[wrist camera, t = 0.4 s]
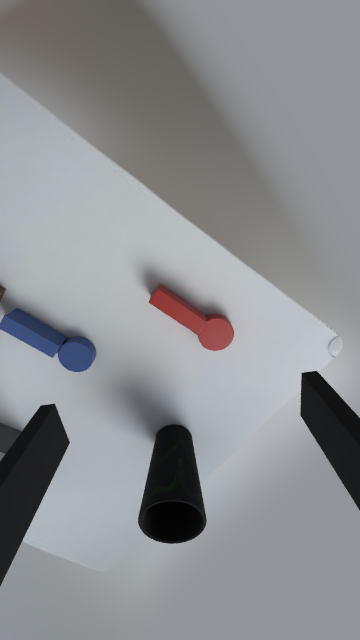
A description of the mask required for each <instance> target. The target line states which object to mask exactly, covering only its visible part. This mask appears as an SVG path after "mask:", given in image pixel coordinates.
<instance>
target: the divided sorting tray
mask: <svg viewBox="0 0 360 640" xmlns="http://www.w3.org/2000/svg"><path fill="white" fill-rule="evenodd" d="M5 291H6V289H5V288H3V287H1V286H0V301H1V299H2V297H3V295H4V293H5Z"/></svg>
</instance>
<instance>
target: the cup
mask: <svg viewBox="0 0 360 640" xmlns="http://www.w3.org/2000/svg"><path fill="white" fill-rule="evenodd" d="M138 523H139V526H140V529H141V530H142V531H143V533H144V534H145V535H147V536H148V537H149V538H151V539H153V540H155V541H159V542H163V543H170V544H172V543H182V542H186V541H189V540H192V539H194V538H195V537H197V536H198V535H199V534H200V533H201V532H202V531H203V530H204V528H205V526H206V514H205V509H204V504H203V498H202V492H201V486H200V481H199V475H198V469H197V464H196V458H195V453H194V447H193V441H192V436H191V433H190V432H189V431H188V429H186V428H185V427H183V426H180V425H168V426H165V427H163V428H162V429H160V430H159V432H158V433H157V435H156V440H155V444H154V449H153V453H152V458H151V462H150V467H149V472H148V476H147V481H146V485H145V490H144V494H143V499H142V504H141V508H140V513H139V517H138Z"/></svg>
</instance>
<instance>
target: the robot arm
mask: <svg viewBox="0 0 360 640" xmlns="http://www.w3.org/2000/svg"><path fill="white" fill-rule="evenodd" d="M301 417H302V418H303V420H304V421H305V423H306V425H307V427H308V428H309V430H310V431H311V433H312V435H313V436H314V438H315V439H316V441H317V443H318V444H319V445H320V447H321V449H322V450H323V452H324V454H325V455H326V457H327V459H328V460H329V462H330V463H331V465H332V466H333V468H334V470H335V471H336V473H337V475H338V476H339V478H340V479H341V481H342V483H343V484H344V486H345V487H346V489H347V491H348V492H349V494H350V495H351V497H352V498H353V500H354V502H355V503H356V505H357V507H358V508H359V510H360V418H359V417H358V416H357V415H356V413H355V412H354V411H353V410H352V409H351V408H350V407H349V406H348V405H347V404H346V403H345V402H344V400H343V399H342V398H341V397H340V396H339V395H338V394H337V393H336V392H335V390H334V389H333V388H332V387H331V386H330V385H329V384H328V383H327V382H326V381H325V379H324V378H323V377H322V376H321V375H320V374H319V373H318V372H317V371H313V372H305V373H302V380H301ZM69 443H70V442H69V439H68V437H67V434H66V432H65V429H64V426H63V424H62V421H61V419H60V416H59V414H58V411H57V408H56V406H55V404H49V405H41V406H40V408H39V409H38V410H37V412H36V413H35V414H34V416H33V417H32V418H31V420H30V421H29V423H28V424H27V425H26V427H25V428H24V429H23V431H22V432H21V433H20V435H19V436H18V437H17V439H16V440H15V442H14V443H13V444H12V446H11V447H10V448H9V450H8V451H7V452H6V454H5V455H4V457H3V458H2V459H1V461H0V586H1V584H2V581H3V579H4V577H5V575H6V573H7V571H8V569H9V567H10V565H11V563H12V561H13V559H14V557H15V555H16V553H17V550H18V548H19V546H20V544H21V542H22V540H23V538H24V536H25V534H26V532H27V530H28V528H29V526H30V524H31V522H32V520H33V518H34V515H35V513H36V511H37V509H38V507H39V505H40V503H41V501H42V499H43V497H44V495H45V493H46V491H47V489H48V487H49V485H50V482H51V480H52V478H53V476H54V474H55V472H56V470H57V468H58V466H59V464H60V462H61V460H62V458H63V456H64V454H65V451H66V449H67V447H68V445H69Z"/></svg>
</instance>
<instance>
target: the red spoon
mask: <svg viewBox="0 0 360 640" xmlns="http://www.w3.org/2000/svg"><path fill="white" fill-rule="evenodd" d="M149 303H150V304H152V305H153V306H155V307H156V308H158V309H159V310H161V311H162V312H164V313H166V314H167V315H169V316H170V317H172V318H173V319H175V320H176V321H178V322H179V323H181V324H182V325H184V326H185V327H187V328H188V329H190V330H191V331H193V332H194V333H196V334H198V338H199V341H200V343H201V344H202V345H203V346H204V347H205V348H207V349H209V350H213V351H217V350H222V349H224V348H226V347H227V346H228V345H229V344H230V343H231V342H232V340H233V337H234V331H233V328H232V326H231V324H230V322H229V320H228V319H227V318H226V317H224V316H222V315H219V314H212V315H208V316H206V315H205V314H204V313H202V312H201V311H199V310H198V309H196V308H195V307H193V306H192V305H191V304H189V303H188V302H186V301H185V300H183V299H182V298H180V297H179V296H177V295H176V294H175V293H173V292H172V291H170V290H169V289H167V288H166V287H164V286H163V285H161V284H159V285H158V287H157V288H156V289H155V291H154V292H153V294H152V295H151V297H150V300H149Z"/></svg>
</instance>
